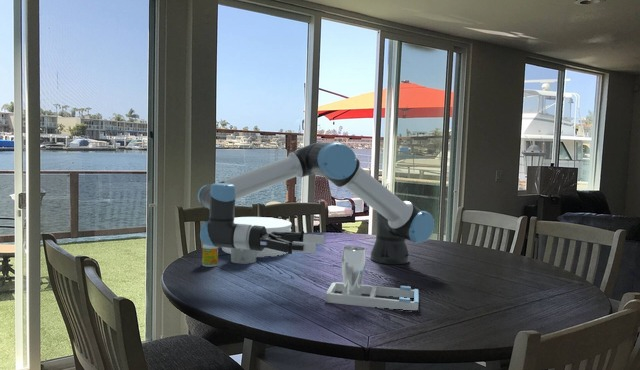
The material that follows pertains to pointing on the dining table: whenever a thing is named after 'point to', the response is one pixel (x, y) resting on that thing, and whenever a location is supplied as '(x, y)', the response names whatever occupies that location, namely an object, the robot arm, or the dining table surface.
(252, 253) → the gray cylinder
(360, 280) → the beer glass
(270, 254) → the plate stack
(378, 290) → the frame
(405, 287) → the light blue bracket
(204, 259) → the supplement bottle
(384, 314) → the dining table surface
